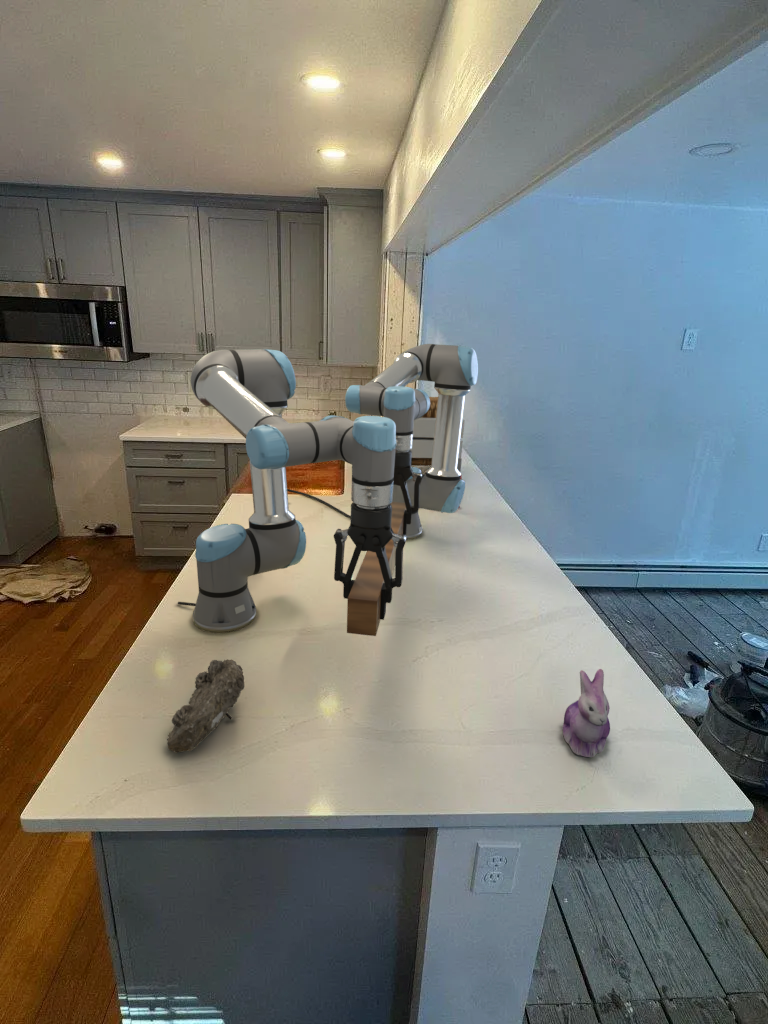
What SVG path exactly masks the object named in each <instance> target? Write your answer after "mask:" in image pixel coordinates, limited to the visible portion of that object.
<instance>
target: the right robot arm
mask: <svg viewBox="0 0 768 1024" xmlns="http://www.w3.org/2000/svg"><path fill="white" fill-rule="evenodd" d="M478 376H479V362H478V356H477V352H476V351H475V349H474V348H473V347H470V346H466V345H465V346H464V345H460V344H459V345H455V344H454V345H452V344H438V343H437V344H436V343H435V344H434V343H423V344H419V345H415V346H413V347H411V348H409V349H406V350H404V351H403V352H401V353H400V354H397V356H396V357H395V359H394V360H393V363H391V364H390V365H389V366H388V367H386V369H384V370H382V372H380V373H379V374H378V375H376V376H375V377H374V378H372V379H371V380H370V381H368V382H367V383H366V384H364V385H361V384H351V385H349V387H348V388H347V389H346V393H345V398H344V402H345V407H346V409H347V411H348V412H350V413H353V414H359V415H365V416H380V417H386V418H389V419H391V420H393V421H394V423H395V425H396V442H397V444H396V450H395V464H394V477H393V481H394V483H393V499H392V502H401V503H405V506H406V510H405V512H404V524H403V535H406V537H407V538H406V541H410V540H415V539H418V538H420V537H421V536H422V535H423V530H424V528H423V525H422V524H421V518H420V515H419V510H420V509H422V510H428V511H433V512H439V513H442V514H443V513H447V514H453V513H456V512H457V511H458V509H460V508H459V506H460V507H461V503H462V502H463V501H462V500H463V497H464V494H465V490H466V481H465V480H463V479H461V478H462V476H461V475H462V473H460V472H459V471H458V469H457V463H458V454H459V445H460V439H461V438H460V436H461V427H462V419H464V408H465V398H466V395H467V394H468V393H469V392H471V387H472V386H475V385H476V384H477V382H478V378H479V377H478ZM417 381H423V382H432V383H434V386H433V387H434V390H435V391H436V393H437V397H438V402H437V412H436V423H435V433H434V444H433V454H432V464H431V465H430V466H429V468H427V469H426V471H425V474H424V473H422V469H421V468H419V467H417V466H411V458H412V452H411V450H410V449H412V442H413V423H414V420H416V419H418V418H420V417H422V416H423V415H424V414H425V413H427V411H428V410H429V407H430V398H429V397H430V396H429V394H428V393H427V392H426V391H424V389H421V388H412V387H411V386H410V387H409V386H407V385H409V384H412V383H416V382H417ZM287 492H289V493H293V494H297V495H301V496H304V497H307V498H311V499H313V500H315V501H317V502H320V503H321V504H324V505H325V506H327V507H329V508H331V509H333V510H334V511H336V512H338V513H339V514H341V515H343V516H344V517H346V518H348V519H350V520H351V514H350V515H349V514H348V513H346V512H344V511H343V510H341V509H340V508H337V507H336V506H334V505H333V504H330V503H328V502H327V501H325V500H323V499H322V498H319V497H317V496H314V495H311V494H309V493H305V492H302V491H298V490H295V489H290V488H287Z"/></svg>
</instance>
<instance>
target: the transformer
mask: <svg viewBox="0 0 768 1024" xmlns="http://www.w3.org/2000/svg"><path fill="white" fill-rule="evenodd" d="M429 398H430V407H429V410H428V411H427V413H425V414H424V415H423V416H422V417H420V418H418V419H416V420H414V423H413V442H412V449H410V450H411V452H412V458H411V467H417V466H418V467H431V464H432V454H433V444H434V433H435V423H436V412H437V402H438V396H429ZM464 429H465V419H464V418H462V427H461V436H460V445H459V454H458V463H457V469H458V471H459V472H460V473H461V472H462V461H463V460H462V453H463V442H464V441H463V440H462V439H463V438H464V431H465V430H464ZM461 474H462V473H461Z"/></svg>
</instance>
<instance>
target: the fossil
mask: <svg viewBox="0 0 768 1024" xmlns="http://www.w3.org/2000/svg"><path fill="white" fill-rule="evenodd" d="M243 670H244V669H243V667H242V665H240V664H237V662H236V661H235V660H234V659H232V658H231V659H227V658H226V659H224V660H223V661H222V660H217V659H212V660H211V661H210V663H209V665H208V666H207V671H201V672H199V673H198V674H197V675H196V676H195V680H194V684H195V685H194V687H195V689H194V690H193V693H192V694H191V697H190V698H189V700H188V704H184V705H182V706H181V707H180V709H177V710H176V711H175V713H174V715H173V716H172V718H171V723H172V724H173V727H172V730H171V731H170V732H168V734H167V738H166V741H167V742H166V745H167V749H168V750H169V751H173V752H174V753H176V754H178V753H182V752H188V751H189V752H192V751H193V750H195V748H196V747H197V746H199V744H200V743H201V742H203V741H204V740H205V739H206V738H207V737H208V736H209V735H210V734H211V733H212V732H214V730H215V729H217V727H218V726H219V724H220V722H221V721H222V720H223V719H224V718H225V716H226V717H227V719H229V720H233V717H232V715H230V714H229V710H230V709H231V708H234V706H235V704H236V703H237V702H238V699H239V697H240V695H241V693H242V691H243V690H245V689H244V688H245V675H244V671H243Z"/></svg>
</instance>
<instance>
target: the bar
mask: <svg viewBox="0 0 768 1024" xmlns="http://www.w3.org/2000/svg"><path fill="white" fill-rule="evenodd" d="M391 505H392V517H391V528H392V530H393V533H395V534H397V535H400V536H401V535H403V524H404V512H405V510H406V506H405V503H401V502H392V503H391ZM393 543H394V542H393V540H390V541H389V542H388V543H387V544H386V545H385V548H386V555H387V559H388V562H389V566H390V570H391V574H392V576H394V573H395V553H396V547H395V546H394V545H393ZM354 580H355V581H354V584H353V586H352V589H351V591H350V594H349V596H348V599H347V606H346V607H347V608H346V633H347V634H352V635H360V636H361V635H363V636H371V637H377V633H378V630H379V627H380V622H381V619H380V610H381V590H382V586H383V583H384V579H383V576H382V572H381V568H380V564H379V560H378V558H377V555H376V552H371V551H365V555H364V557H363V559H362V562H361V564H360V567H359V570H358V571H357V574H356V577H355V579H354Z"/></svg>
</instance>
